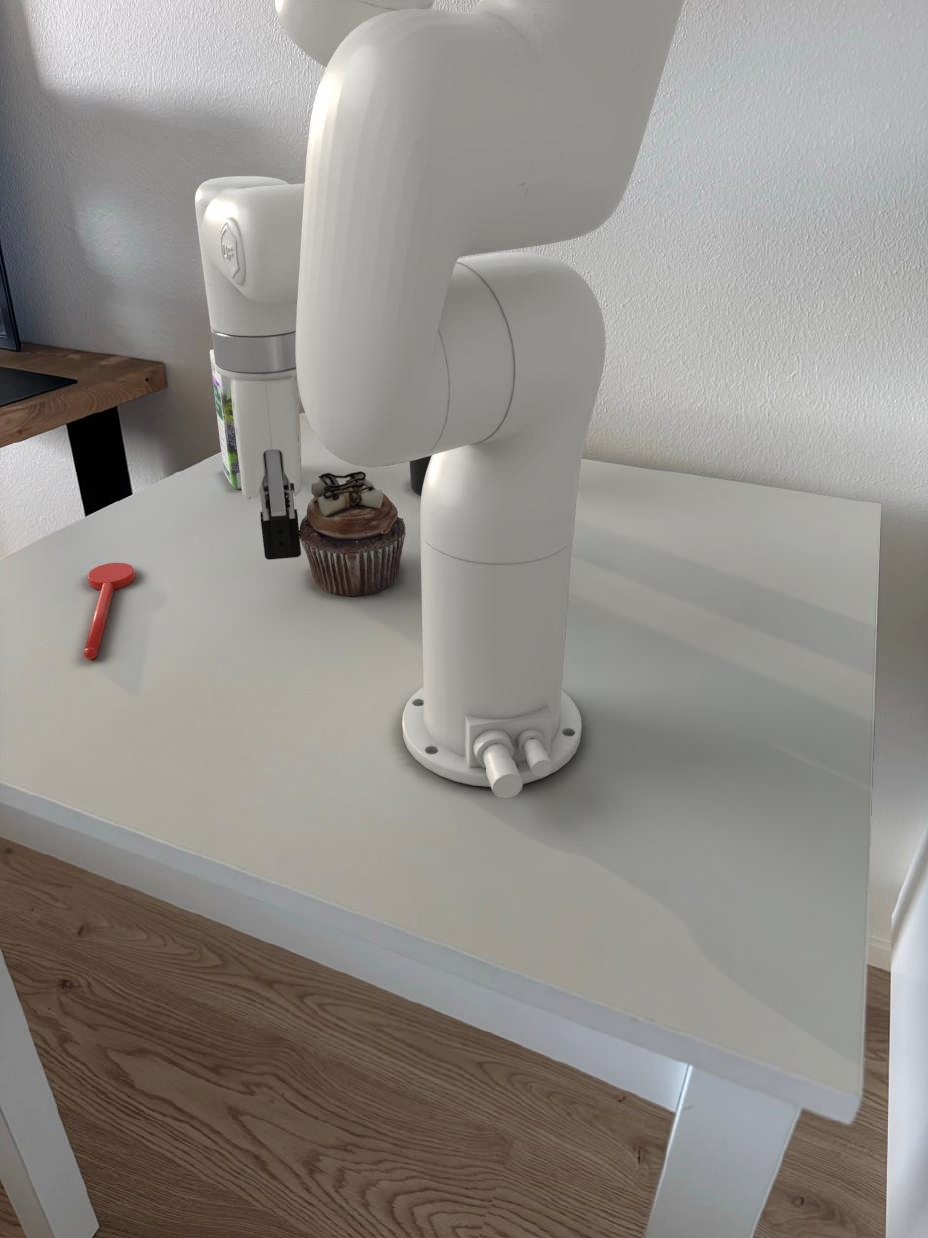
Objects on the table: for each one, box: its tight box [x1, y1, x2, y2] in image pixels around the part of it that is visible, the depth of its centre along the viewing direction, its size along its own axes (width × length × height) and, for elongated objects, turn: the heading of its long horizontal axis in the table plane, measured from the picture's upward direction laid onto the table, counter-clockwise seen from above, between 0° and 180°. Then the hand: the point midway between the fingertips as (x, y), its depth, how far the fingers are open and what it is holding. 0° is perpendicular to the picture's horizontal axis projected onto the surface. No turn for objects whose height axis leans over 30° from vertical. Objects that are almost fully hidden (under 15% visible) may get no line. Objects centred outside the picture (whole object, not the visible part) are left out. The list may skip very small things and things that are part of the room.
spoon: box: [83, 562, 136, 660], centre depth 78 cm, size 16×4×1 cm, turn 12°
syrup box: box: [209, 348, 242, 490], centre depth 101 cm, size 6×6×14 cm
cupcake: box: [299, 470, 407, 598], centre depth 82 cm, size 10×10×10 cm
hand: (282, 554), depth 82 cm, fingers closed
